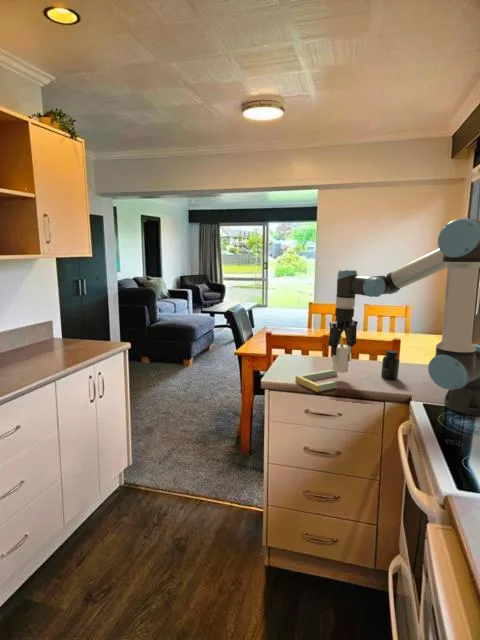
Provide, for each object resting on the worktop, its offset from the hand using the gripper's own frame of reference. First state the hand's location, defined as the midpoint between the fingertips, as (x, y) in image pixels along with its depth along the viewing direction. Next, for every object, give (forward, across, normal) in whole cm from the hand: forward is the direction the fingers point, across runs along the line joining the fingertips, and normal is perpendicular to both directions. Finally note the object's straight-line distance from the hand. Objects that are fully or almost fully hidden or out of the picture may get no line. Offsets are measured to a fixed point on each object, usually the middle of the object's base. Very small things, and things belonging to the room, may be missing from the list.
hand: (341, 361), depth 171 cm
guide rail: (+8, +7, 0) cm, 11 cm away
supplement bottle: (+8, -21, +8) cm, 24 cm away
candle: (+4, 0, 0) cm, 4 cm away
